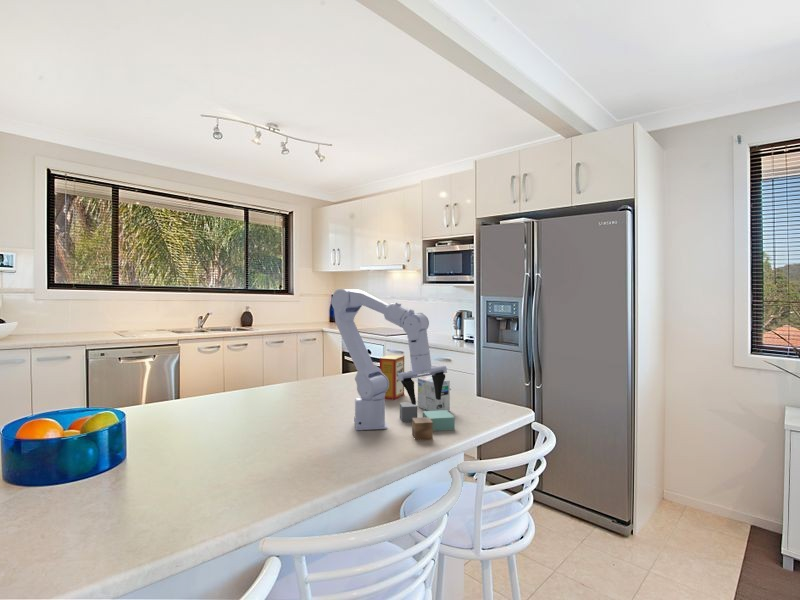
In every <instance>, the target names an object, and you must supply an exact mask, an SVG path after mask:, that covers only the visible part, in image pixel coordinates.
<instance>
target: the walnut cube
mask: <svg viewBox="0 0 800 600" xmlns="http://www.w3.org/2000/svg"><path fill="white" fill-rule="evenodd" d="M411 423H412V424H411V426H412V427H411V435H412V437H413V439H414V438H415V439H414V441H415V440H418V441H433V438H434V433H433V432H434V431H433V422H432V421H431V419H430V418H429V417H423V416H422V417H417V418H412V422H411Z"/></svg>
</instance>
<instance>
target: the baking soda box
mask: <svg viewBox="0 0 800 600" xmlns="http://www.w3.org/2000/svg"><path fill="white" fill-rule="evenodd" d="M379 368H380V369H381V371H382V373H383V374H384V375H385V376H386V377H387V378H388V380H389V388H388V390H387V391H386V392H385V400H392V399H393V400H392V401H395V399H396V400H397V399H398V398H400V396H401V397H402V396H404V395H405V387H404V385H403V384H402V382H401V381H399V380H398V373H404V372H405V355H398V354H397V355H395V354H388V355H383V356H381V357H380V358H379Z"/></svg>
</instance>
